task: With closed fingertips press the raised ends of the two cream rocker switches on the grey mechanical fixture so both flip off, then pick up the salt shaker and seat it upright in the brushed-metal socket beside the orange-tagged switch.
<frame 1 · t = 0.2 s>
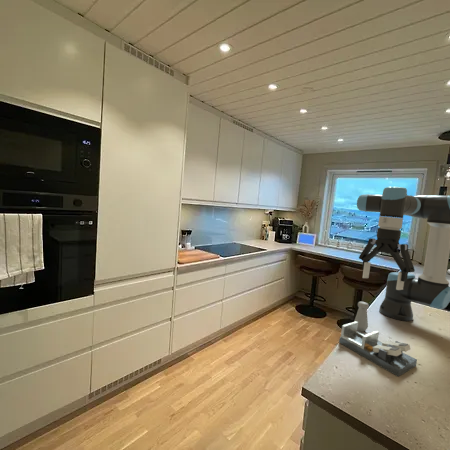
hand: (381, 283, 97), 27 cm above the kitchen counter, fingers open, 13 cm apart
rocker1: (395, 345, 94), point 5 cm above the kitchen counter, hinge at 20.0°
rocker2: (386, 349, 91), point 5 cm above the kitchen counter, hinge at 20.0°
salt shaker: (359, 330, 116), on the kitchen counter
grey mechanical fixture: (375, 353, 97), on the kitchen counter
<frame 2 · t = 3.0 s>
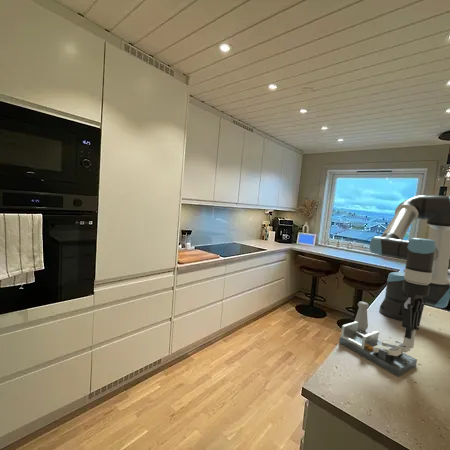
hand: (408, 346, 91), 7 cm above the kitchen counter, fingers closed
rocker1: (395, 345, 94), point 5 cm above the kitchen counter, hinge at 14.9°, touching gripper
everything else where it was.
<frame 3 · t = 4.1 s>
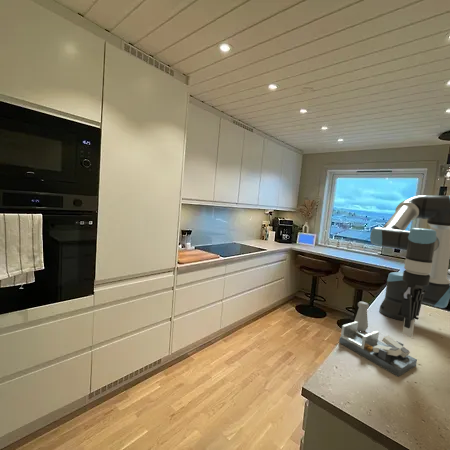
hand: (407, 335, 92), 11 cm above the kitchen counter, fingers closed
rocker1: (395, 345, 94), point 5 cm above the kitchen counter, hinge at -17.0°
everything else where it was.
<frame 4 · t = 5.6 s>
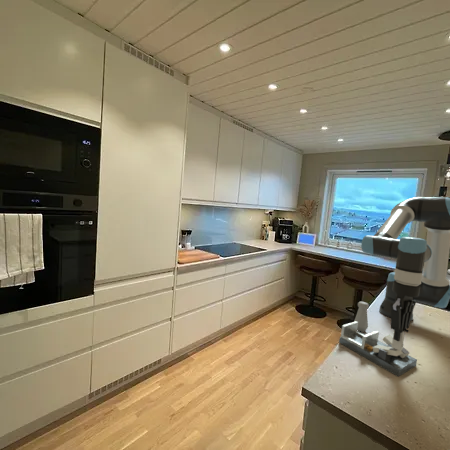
hand: (396, 348, 88), 8 cm above the kitchen counter, fingers closed
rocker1: (395, 345, 94), point 5 cm above the kitchen counter, hinge at -23.2°
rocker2: (386, 349, 91), point 5 cm above the kitchen counter, hinge at 20.0°, touching gripper
everything else where it was.
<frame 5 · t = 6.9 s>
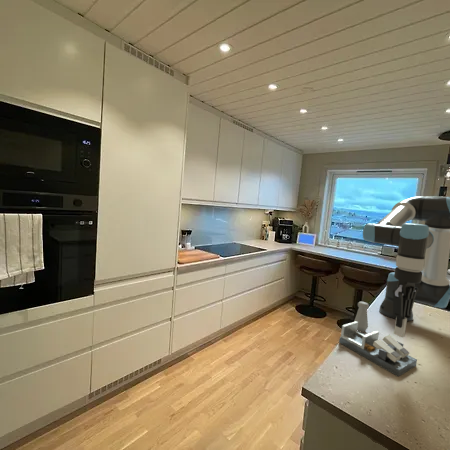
hand: (399, 334, 88), 12 cm above the kitchen counter, fingers closed
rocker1: (395, 345, 94), point 5 cm above the kitchen counter, hinge at -23.8°
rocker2: (386, 349, 91), point 5 cm above the kitchen counter, hinge at -15.2°
everything else where it was.
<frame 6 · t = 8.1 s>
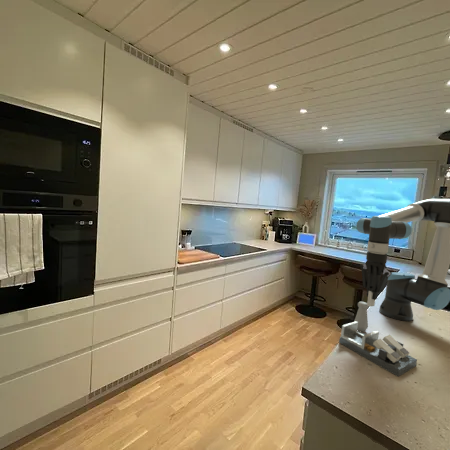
hand: (370, 305, 110), 14 cm above the kitchen counter, fingers closed
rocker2: (386, 350, 91), point 5 cm above the kitchen counter, hinge at -20.4°
everything else where it was.
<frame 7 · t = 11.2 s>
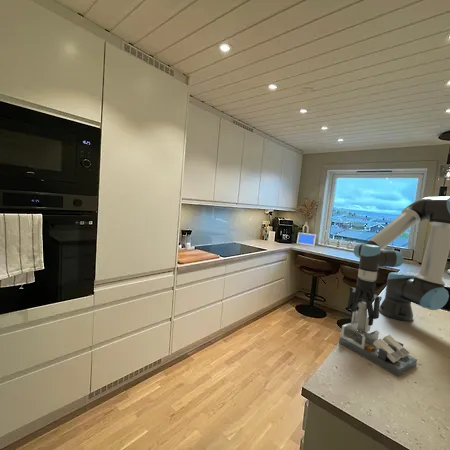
hand: (360, 327, 116), 1 cm above the kitchen counter, fingers closed on salt shaker, 6 cm apart
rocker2: (386, 350, 91), point 5 cm above the kitchen counter, hinge at -21.4°
salt shaker: (359, 330, 116), on the kitchen counter, touching gripper
everything else where it was.
when the fingers open (5 cm above the kitchen counter, at t = 16.9 s): salt shaker drops 1 cm, resting on grey mechanical fixture.
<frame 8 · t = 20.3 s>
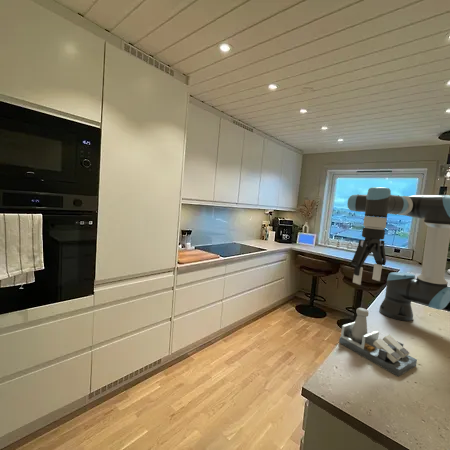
hand: (366, 281, 99), 27 cm above the kitchen counter, fingers open, 13 cm apart
salt shaker: (358, 340, 101), point 2 cm above the kitchen counter, touching grey mechanical fixture
everything else where it was.
at the end: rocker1 at -24° (first picture: +20°); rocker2 at -22° (first picture: +20°); salt shaker 0.1 cm from the target spot on the grey mechanical fixture, point 2.3 cm above the grey mechanical fixture's base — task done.
